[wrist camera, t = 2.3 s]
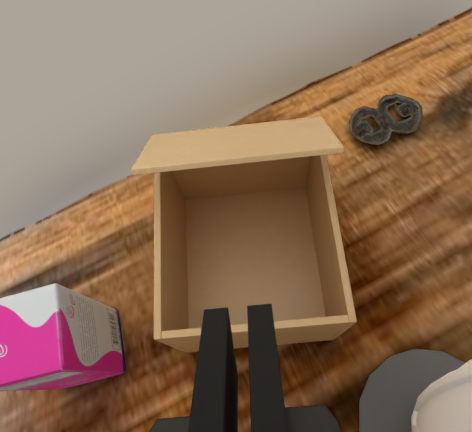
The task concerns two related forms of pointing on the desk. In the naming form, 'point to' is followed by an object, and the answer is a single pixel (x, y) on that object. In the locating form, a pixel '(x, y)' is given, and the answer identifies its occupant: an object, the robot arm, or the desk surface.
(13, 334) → the supplement box
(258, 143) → the flap
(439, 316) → the desk surface
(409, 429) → the cup
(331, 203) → the carton
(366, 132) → the corroded twin loop
